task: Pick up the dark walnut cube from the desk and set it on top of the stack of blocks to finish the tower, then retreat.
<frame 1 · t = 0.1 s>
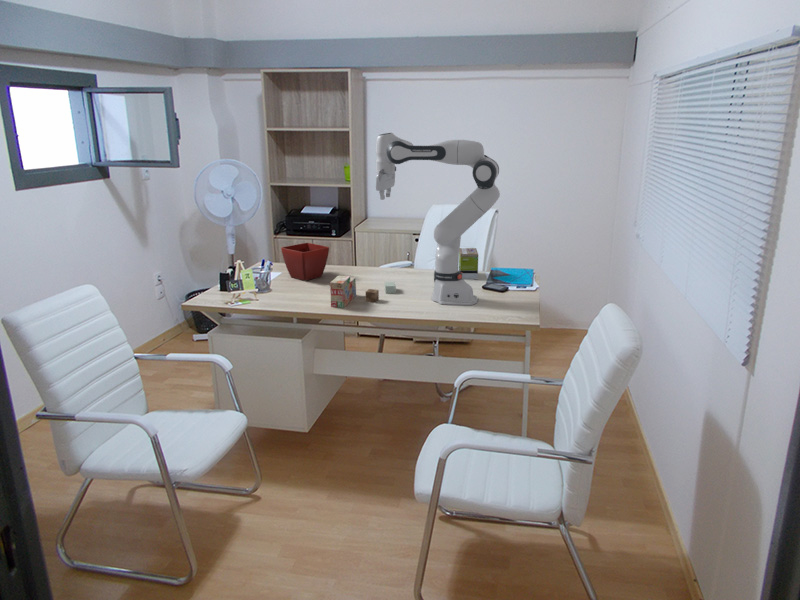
hand: (385, 198, 282), 48 cm above the table, fingers open, 8 cm apart
plant pot: (306, 277, 327), on the table
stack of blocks: (343, 301, 285), on the table
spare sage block: (390, 291, 301), on the table
walnut cube: (372, 300, 286), on the table
tea box: (467, 276, 330), on the table
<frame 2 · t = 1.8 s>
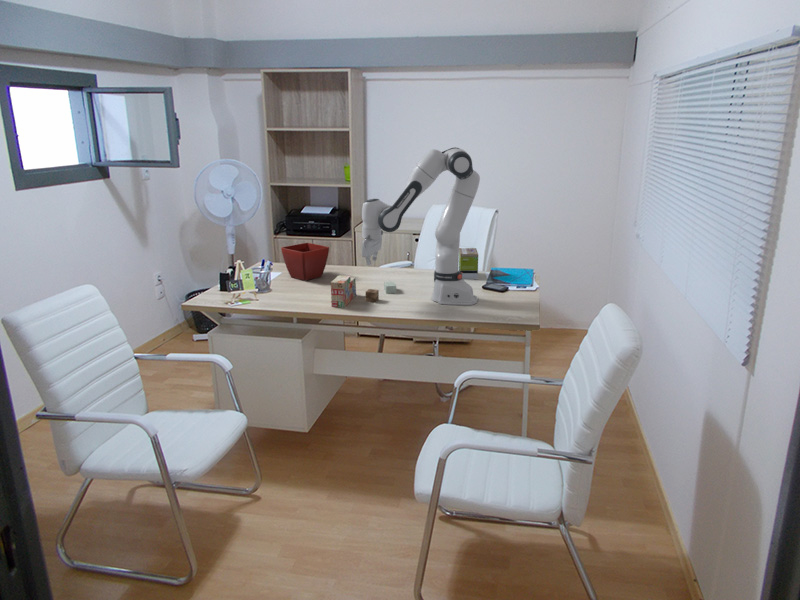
hand: (371, 262, 280), 19 cm above the table, fingers open, 8 cm apart
nothing on the table moved.
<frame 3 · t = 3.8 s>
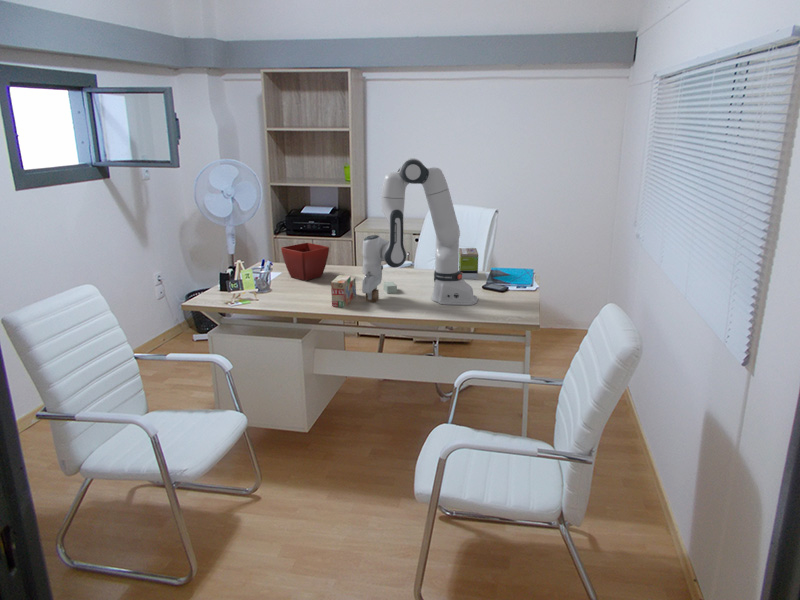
hand: (372, 297, 285), 2 cm above the table, fingers closed on walnut cube, 5 cm apart
walnut cube: (372, 300, 286), on the table, touching gripper
everything else where it was.
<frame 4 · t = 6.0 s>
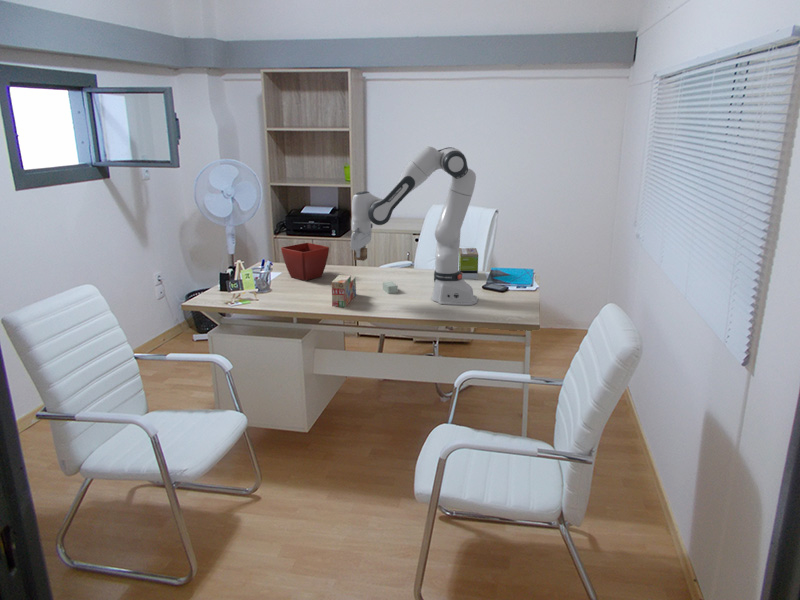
hand: (360, 255, 279), 22 cm above the table, fingers closed on walnut cube, 5 cm apart
walnut cube: (360, 259, 279), point 21 cm above the table, touching gripper
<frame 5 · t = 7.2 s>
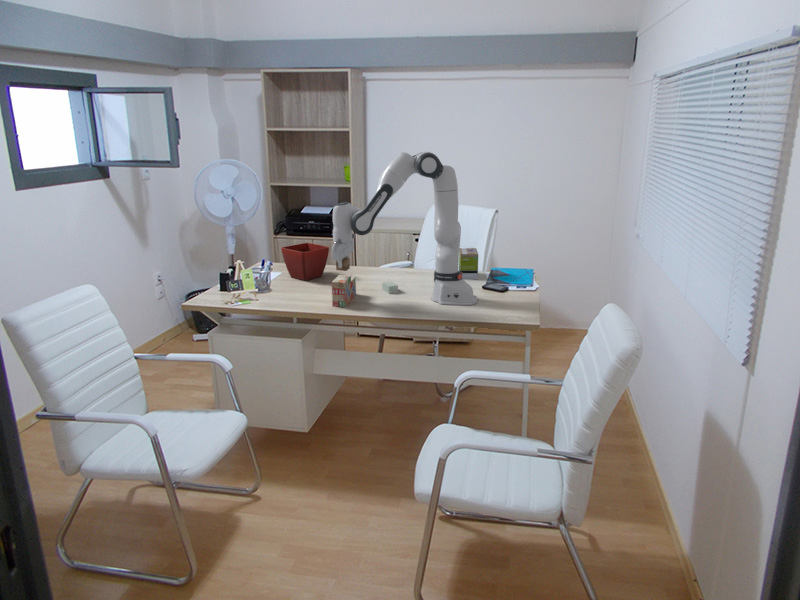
hand: (343, 266, 280), 17 cm above the table, fingers closed on walnut cube, 5 cm apart
walnut cube: (342, 269, 280), point 16 cm above the table, touching gripper
when the fingers open (16 cm above the table, at t = 7.9 s): walnut cube drops 2 cm, resting on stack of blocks.
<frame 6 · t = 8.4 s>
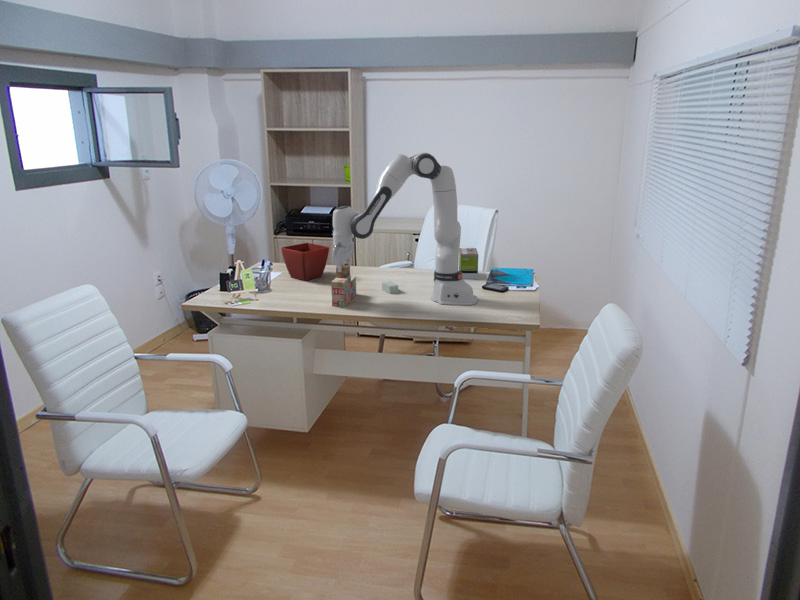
hand: (343, 269, 280), 16 cm above the table, fingers open, 8 cm apart
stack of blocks: (344, 300, 287), on the table, touching walnut cube
walnut cube: (343, 276, 282), point 12 cm above the table, touching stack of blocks
everything else where it was.
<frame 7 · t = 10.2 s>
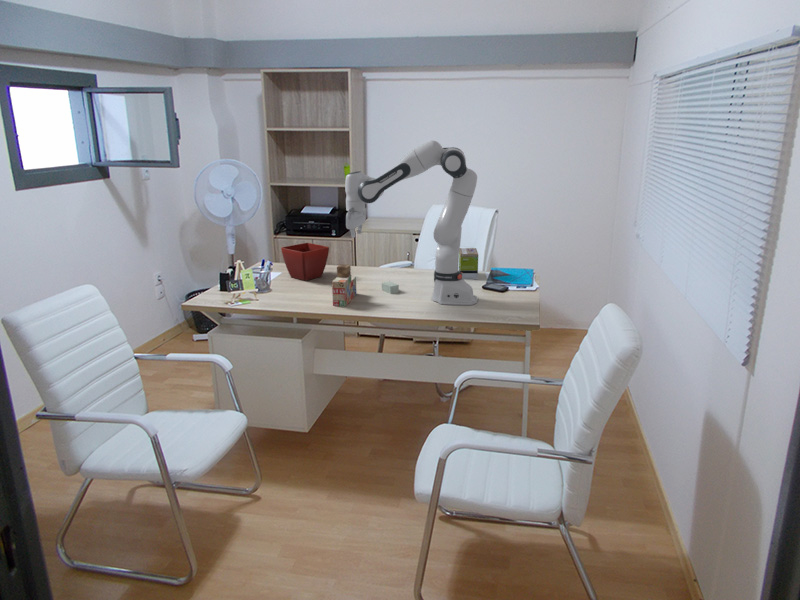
hand: (356, 235, 283), 31 cm above the table, fingers open, 8 cm apart
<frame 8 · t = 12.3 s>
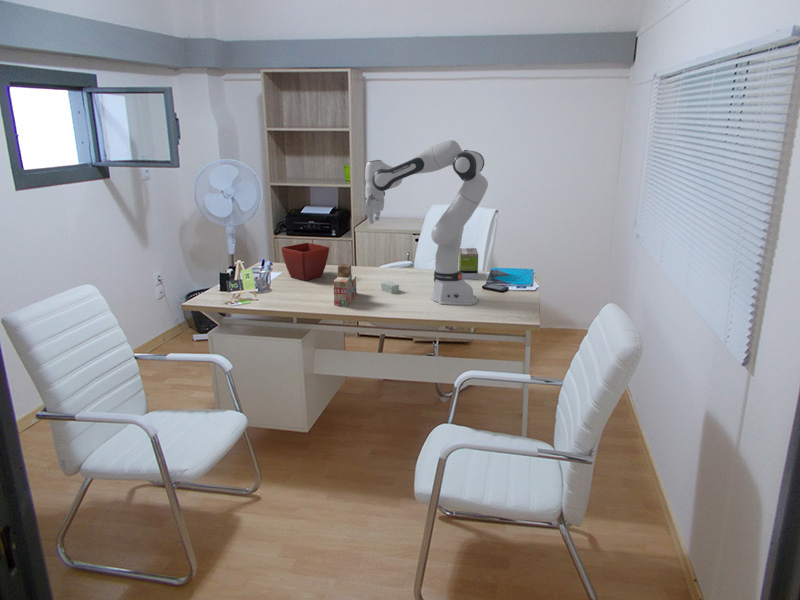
hand: (374, 221, 293), 35 cm above the table, fingers open, 8 cm apart
at the end: walnut cube point 12.1 cm above the table; walnut cube 1.0 cm from the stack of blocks (horizontally); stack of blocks tilted 0° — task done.
